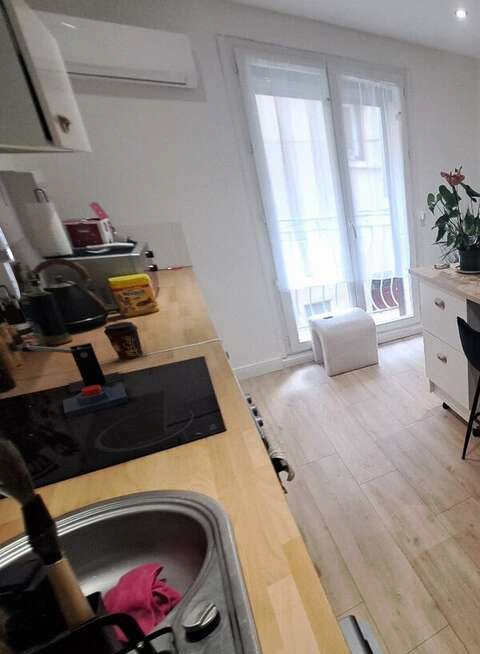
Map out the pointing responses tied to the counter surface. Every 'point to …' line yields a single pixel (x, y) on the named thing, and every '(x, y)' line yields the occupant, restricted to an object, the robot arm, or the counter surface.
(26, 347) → the lever
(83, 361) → the lever bracket
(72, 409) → the igniter
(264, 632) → the counter surface
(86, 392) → the igniter button
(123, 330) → the coffee cup
